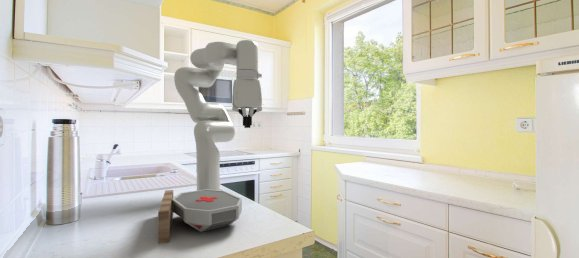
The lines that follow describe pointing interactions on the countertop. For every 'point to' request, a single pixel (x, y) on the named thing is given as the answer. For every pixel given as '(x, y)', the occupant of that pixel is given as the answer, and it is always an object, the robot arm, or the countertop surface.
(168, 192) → the walnut board
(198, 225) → the first aid kit
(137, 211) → the countertop surface
